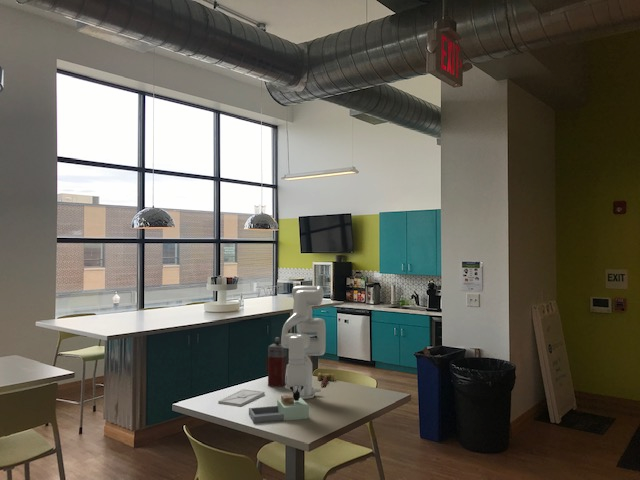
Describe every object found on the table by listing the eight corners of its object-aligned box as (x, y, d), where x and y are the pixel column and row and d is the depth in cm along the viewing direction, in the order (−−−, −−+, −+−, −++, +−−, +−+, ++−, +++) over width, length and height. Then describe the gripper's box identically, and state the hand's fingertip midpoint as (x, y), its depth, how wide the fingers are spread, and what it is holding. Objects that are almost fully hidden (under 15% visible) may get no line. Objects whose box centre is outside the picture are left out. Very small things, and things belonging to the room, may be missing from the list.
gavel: (330, 382, 300) (313, 382, 302) (330, 390, 301) (313, 390, 302) (334, 372, 321) (318, 371, 322) (334, 379, 321) (318, 379, 323)
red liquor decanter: (268, 382, 314) (268, 335, 315) (286, 383, 312) (286, 336, 313) (264, 385, 305) (264, 337, 306) (282, 386, 303) (282, 338, 304)
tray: (277, 412, 254) (277, 405, 254) (283, 420, 240) (283, 414, 240) (248, 414, 249) (248, 408, 249) (253, 423, 236) (253, 416, 236)
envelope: (218, 404, 268) (240, 407, 263) (218, 400, 268) (240, 403, 263) (243, 392, 290) (264, 395, 285) (243, 388, 290) (264, 391, 285)
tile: (291, 401, 251) (291, 394, 251) (293, 403, 246) (293, 397, 246) (281, 401, 250) (281, 395, 250) (283, 404, 245) (283, 398, 245)
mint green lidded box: (300, 409, 257) (300, 397, 257) (308, 418, 244) (308, 405, 244) (277, 412, 254) (277, 399, 254) (283, 420, 240) (283, 407, 240)
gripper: (309, 359, 256) (308, 397, 255) (279, 361, 251) (279, 399, 251) (313, 362, 249) (313, 401, 248) (283, 364, 244) (283, 403, 243)
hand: (296, 400), depth 249 cm, fingers closed
